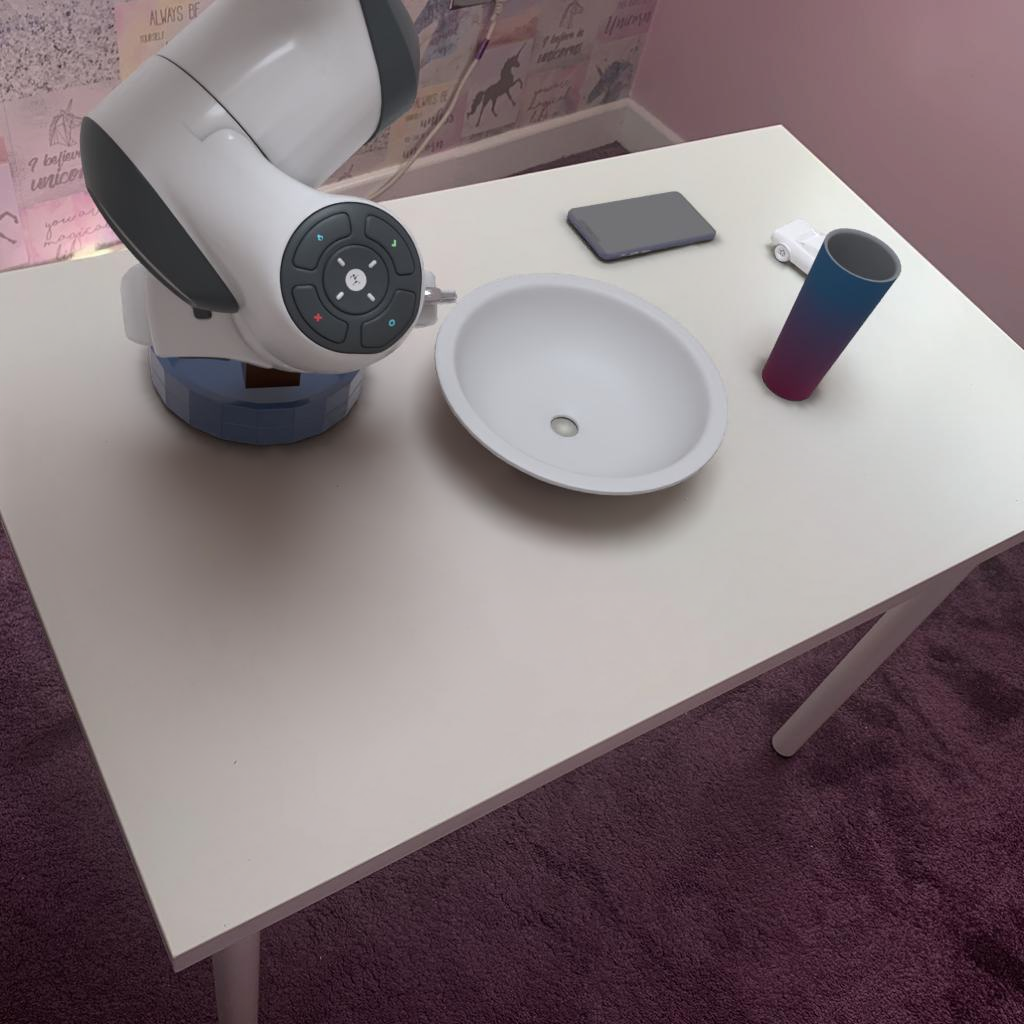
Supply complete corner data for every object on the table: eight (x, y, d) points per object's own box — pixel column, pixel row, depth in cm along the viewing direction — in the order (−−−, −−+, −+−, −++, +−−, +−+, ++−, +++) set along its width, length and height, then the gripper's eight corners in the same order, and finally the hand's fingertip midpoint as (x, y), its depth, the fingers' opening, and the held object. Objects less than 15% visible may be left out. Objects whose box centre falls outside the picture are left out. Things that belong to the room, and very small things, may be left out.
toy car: (845, 316, 107) (861, 291, 105) (759, 246, 112) (772, 220, 109) (875, 299, 110) (891, 274, 108) (790, 232, 114) (803, 206, 112)
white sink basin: (396, 330, 91) (407, 270, 86) (647, 327, 99) (671, 272, 94) (456, 556, 78) (474, 501, 73) (741, 533, 86) (774, 482, 81)
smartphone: (720, 233, 110) (605, 256, 103) (716, 240, 110) (602, 264, 103) (678, 189, 113) (564, 208, 106) (675, 196, 114) (562, 216, 107)
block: (245, 389, 78) (248, 285, 71) (238, 350, 80) (240, 245, 73) (299, 386, 80) (308, 283, 72) (291, 348, 82) (299, 245, 74)
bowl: (160, 457, 78) (158, 415, 74) (142, 304, 87) (139, 261, 83) (379, 442, 83) (386, 403, 80) (341, 300, 92) (346, 259, 89)
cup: (739, 374, 98) (809, 245, 87) (777, 345, 102) (849, 218, 90) (797, 419, 96) (877, 293, 85) (834, 387, 100) (915, 263, 88)
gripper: (463, 243, 66) (407, 262, 79) (117, 245, 60) (117, 266, 72) (468, 345, 67) (412, 347, 80) (128, 358, 61) (126, 359, 73)
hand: (270, 309), depth 76 cm, fingers closed on block, 4 cm apart
